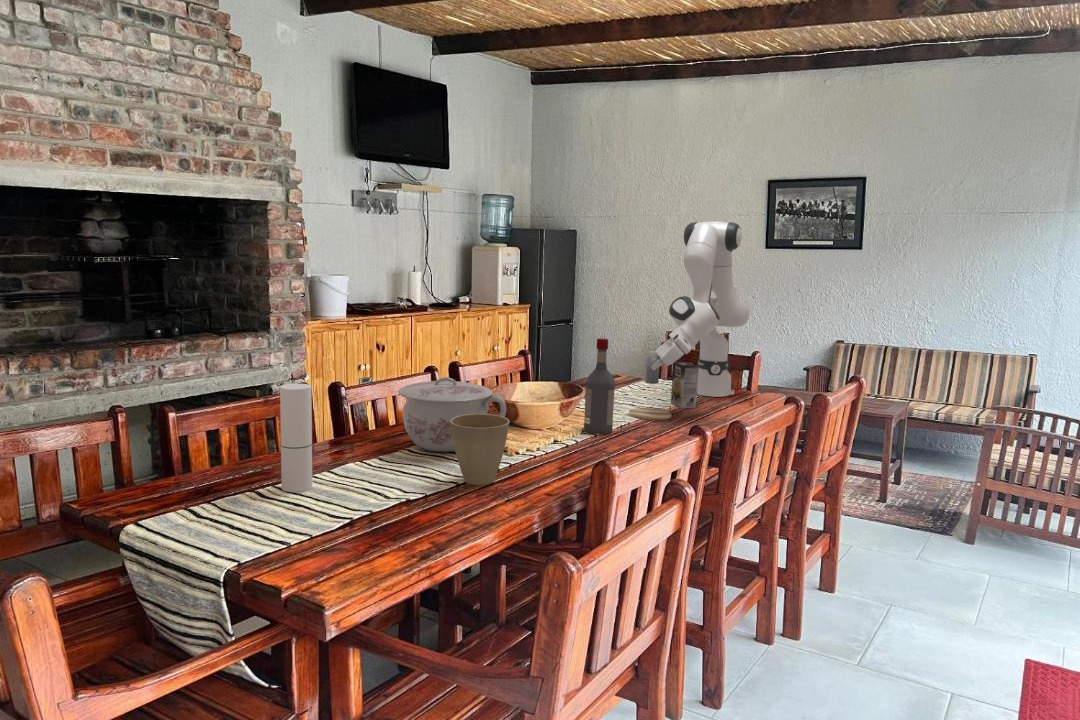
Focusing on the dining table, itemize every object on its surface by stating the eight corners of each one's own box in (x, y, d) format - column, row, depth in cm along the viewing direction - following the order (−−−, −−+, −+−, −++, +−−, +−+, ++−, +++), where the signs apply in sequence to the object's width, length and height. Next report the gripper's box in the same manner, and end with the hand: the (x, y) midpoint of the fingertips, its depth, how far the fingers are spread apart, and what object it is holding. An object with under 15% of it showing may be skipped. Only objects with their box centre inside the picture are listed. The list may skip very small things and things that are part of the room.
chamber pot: (378, 444, 236) (378, 374, 232) (451, 430, 255) (452, 365, 252) (437, 466, 216) (439, 390, 213) (512, 449, 236) (514, 379, 232)
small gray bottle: (644, 381, 286) (646, 350, 284) (657, 381, 286) (659, 351, 284) (646, 383, 281) (647, 352, 279) (659, 384, 281) (661, 353, 279)
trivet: (627, 409, 293) (627, 407, 293) (668, 411, 293) (668, 408, 292) (630, 419, 278) (630, 416, 278) (674, 421, 278) (674, 418, 278)
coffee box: (669, 403, 307) (672, 361, 305) (685, 402, 309) (687, 361, 306) (681, 408, 299) (683, 365, 296) (696, 407, 301) (699, 365, 298)
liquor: (612, 427, 265) (617, 338, 260) (612, 434, 256) (616, 341, 251) (584, 426, 266) (588, 336, 261) (583, 433, 257) (587, 340, 252)
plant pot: (477, 468, 215) (479, 410, 212) (519, 481, 206) (521, 420, 203) (436, 481, 204) (437, 419, 201) (479, 494, 194) (480, 430, 192)
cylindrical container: (310, 481, 199) (309, 383, 195) (313, 490, 193) (312, 388, 189) (280, 484, 197) (279, 384, 193) (282, 493, 190) (281, 390, 186)
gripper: (670, 331, 291) (642, 356, 293) (678, 338, 271) (647, 365, 272) (682, 343, 291) (653, 369, 293) (691, 351, 271) (660, 379, 273)
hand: (651, 367), depth 283 cm, fingers closed on small gray bottle, 5 cm apart
